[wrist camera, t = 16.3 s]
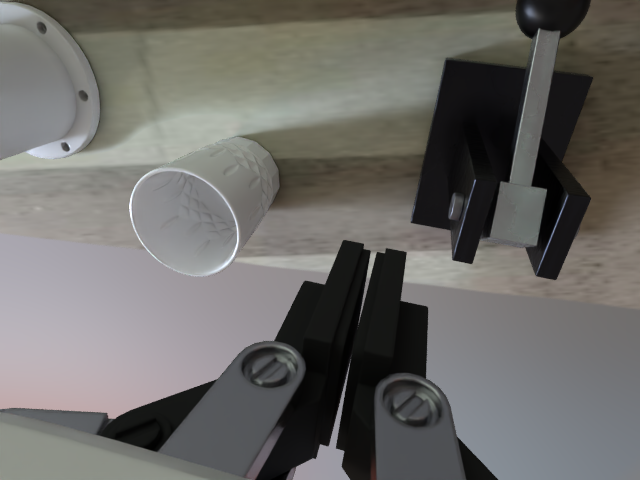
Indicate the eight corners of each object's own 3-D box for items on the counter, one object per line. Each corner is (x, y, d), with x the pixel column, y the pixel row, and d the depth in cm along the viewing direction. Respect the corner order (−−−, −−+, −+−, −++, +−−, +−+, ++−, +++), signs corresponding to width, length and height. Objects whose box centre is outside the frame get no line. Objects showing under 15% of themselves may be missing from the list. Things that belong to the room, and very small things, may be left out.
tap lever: (514, -10, 24) (534, -54, 21) (579, -4, 24) (610, -48, 20) (466, 238, 24) (478, 234, 21) (530, 250, 23) (554, 248, 20)
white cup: (272, 120, 34) (216, 157, 26) (297, 211, 37) (255, 272, 29) (187, 138, 37) (110, 178, 28) (217, 222, 40) (157, 281, 31)
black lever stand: (445, 57, 29) (449, 86, 18) (587, 74, 28) (686, 116, 17) (411, 216, 35) (399, 311, 24) (527, 238, 34) (571, 348, 23)
